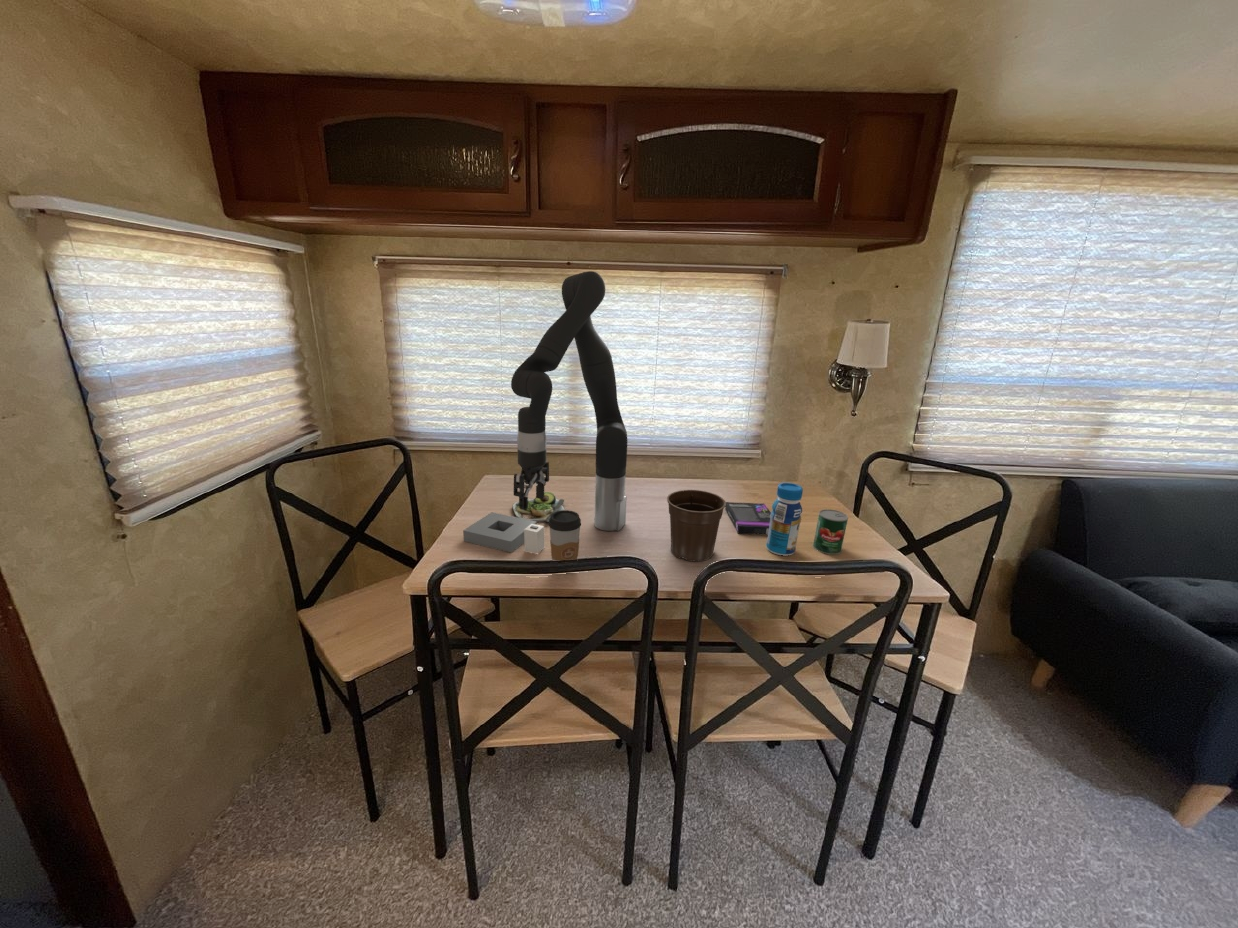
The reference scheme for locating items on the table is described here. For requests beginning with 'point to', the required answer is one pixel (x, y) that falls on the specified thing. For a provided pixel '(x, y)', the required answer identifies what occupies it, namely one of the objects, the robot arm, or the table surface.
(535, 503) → the avocado toast plate
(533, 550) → the block
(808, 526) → the table surface
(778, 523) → the beverage bottle
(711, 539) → the plant pot
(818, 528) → the canned tomato
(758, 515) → the box
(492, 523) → the outlet box
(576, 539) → the coffee cup
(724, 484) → the table surface
